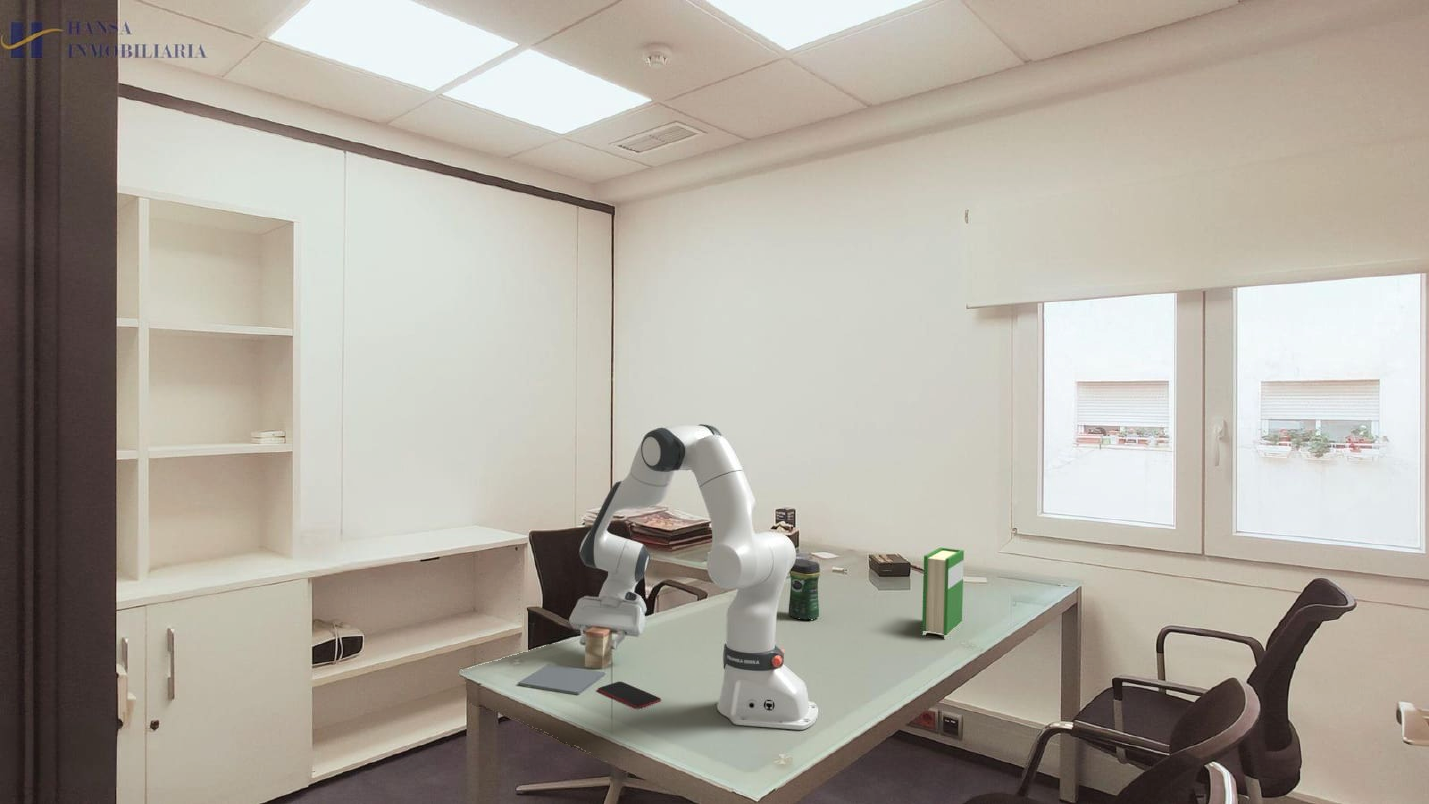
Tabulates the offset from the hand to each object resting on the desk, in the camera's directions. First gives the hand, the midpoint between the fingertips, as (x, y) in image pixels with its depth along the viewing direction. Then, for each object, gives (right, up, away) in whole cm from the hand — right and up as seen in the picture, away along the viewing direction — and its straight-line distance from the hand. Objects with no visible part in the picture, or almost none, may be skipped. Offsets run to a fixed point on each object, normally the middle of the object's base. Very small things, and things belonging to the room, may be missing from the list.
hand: (597, 646), depth 194 cm
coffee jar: (+59, -7, +50) cm, 78 cm away
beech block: (0, -5, +1) cm, 5 cm away
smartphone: (+10, -6, -20) cm, 23 cm away
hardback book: (+101, -8, +39) cm, 109 cm away
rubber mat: (-7, -5, -11) cm, 14 cm away
